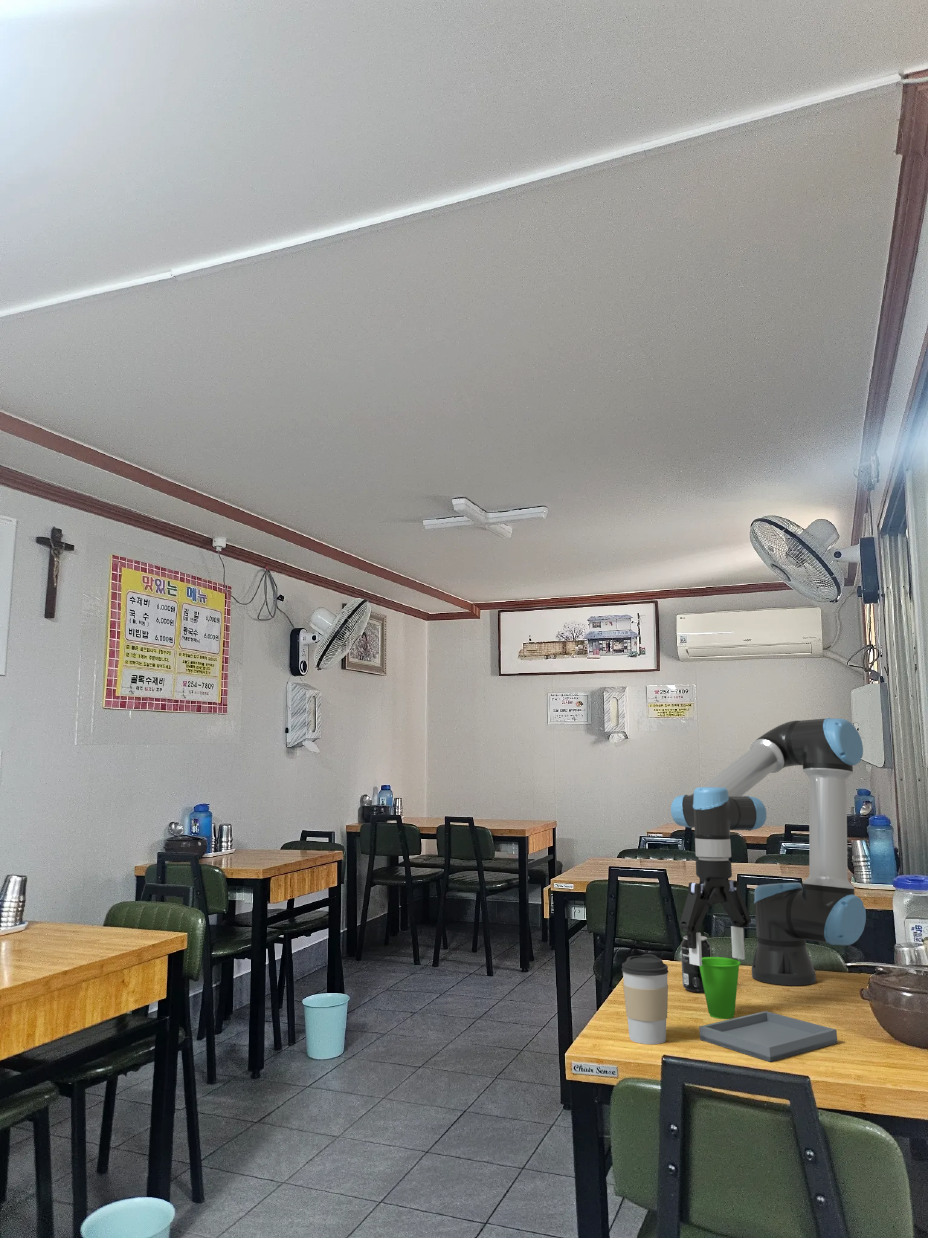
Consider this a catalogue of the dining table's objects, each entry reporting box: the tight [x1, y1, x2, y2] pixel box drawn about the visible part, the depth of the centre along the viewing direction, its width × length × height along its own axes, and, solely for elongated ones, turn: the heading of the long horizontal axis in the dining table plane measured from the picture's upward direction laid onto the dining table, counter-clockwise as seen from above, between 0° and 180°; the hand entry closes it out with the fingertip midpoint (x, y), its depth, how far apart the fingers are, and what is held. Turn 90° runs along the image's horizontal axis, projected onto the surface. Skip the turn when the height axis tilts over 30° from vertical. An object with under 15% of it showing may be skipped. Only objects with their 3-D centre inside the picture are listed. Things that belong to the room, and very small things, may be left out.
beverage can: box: [680, 935, 712, 994], centre depth 204 cm, size 7×7×12 cm
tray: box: [698, 1010, 838, 1063], centre depth 164 cm, size 20×16×2 cm
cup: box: [699, 956, 742, 1020], centre depth 182 cm, size 9×9×11 cm
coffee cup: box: [621, 953, 670, 1045], centre depth 166 cm, size 9×9×15 cm
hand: (717, 961), depth 183 cm, fingers open, 13 cm apart
